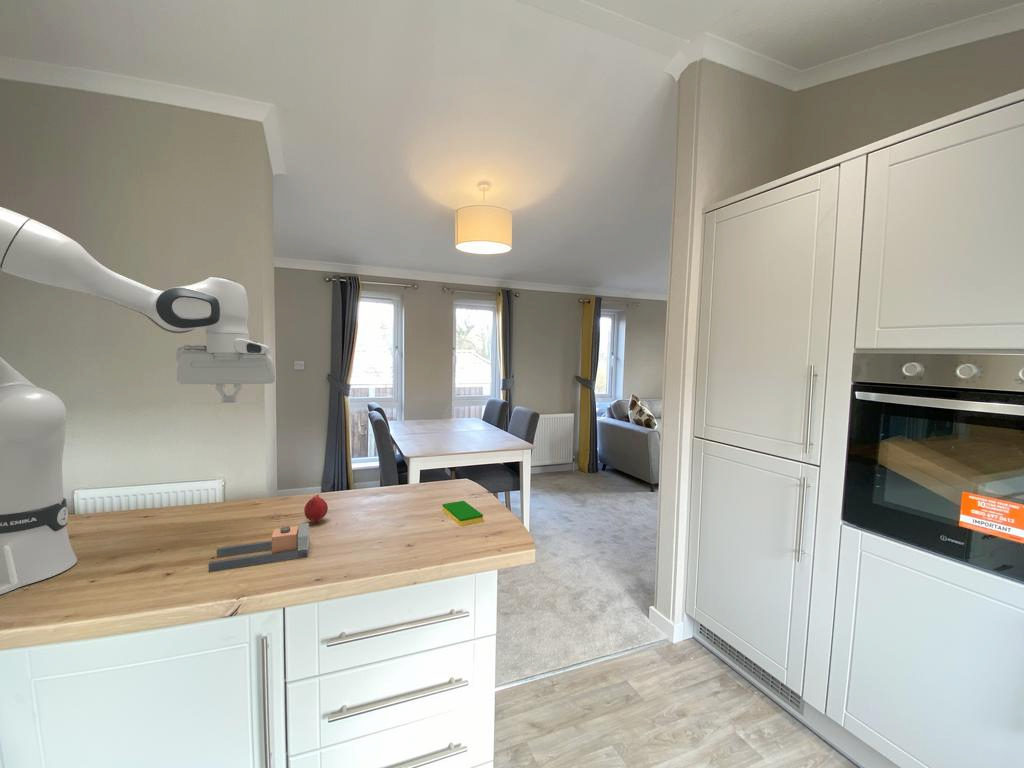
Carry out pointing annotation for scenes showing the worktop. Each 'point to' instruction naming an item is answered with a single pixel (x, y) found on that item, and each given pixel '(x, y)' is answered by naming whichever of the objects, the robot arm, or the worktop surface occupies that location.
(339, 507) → the worktop surface
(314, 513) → the onion
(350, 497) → the worktop surface
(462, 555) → the worktop surface
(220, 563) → the rail
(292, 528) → the block
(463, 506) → the dish sponge
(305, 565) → the worktop surface
